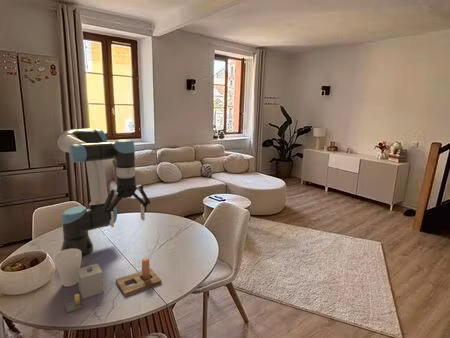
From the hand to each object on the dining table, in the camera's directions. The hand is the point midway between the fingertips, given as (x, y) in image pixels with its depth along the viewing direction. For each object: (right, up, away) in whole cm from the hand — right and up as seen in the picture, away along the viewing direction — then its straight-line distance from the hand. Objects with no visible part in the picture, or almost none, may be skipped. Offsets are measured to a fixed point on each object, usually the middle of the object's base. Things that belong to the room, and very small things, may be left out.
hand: (127, 222), depth 128 cm
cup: (-24, -26, -2) cm, 36 cm away
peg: (+8, -26, +1) cm, 27 cm away
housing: (-13, -27, -7) cm, 31 cm away
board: (+5, -26, -1) cm, 27 cm away
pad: (-15, -29, -17) cm, 37 cm away
